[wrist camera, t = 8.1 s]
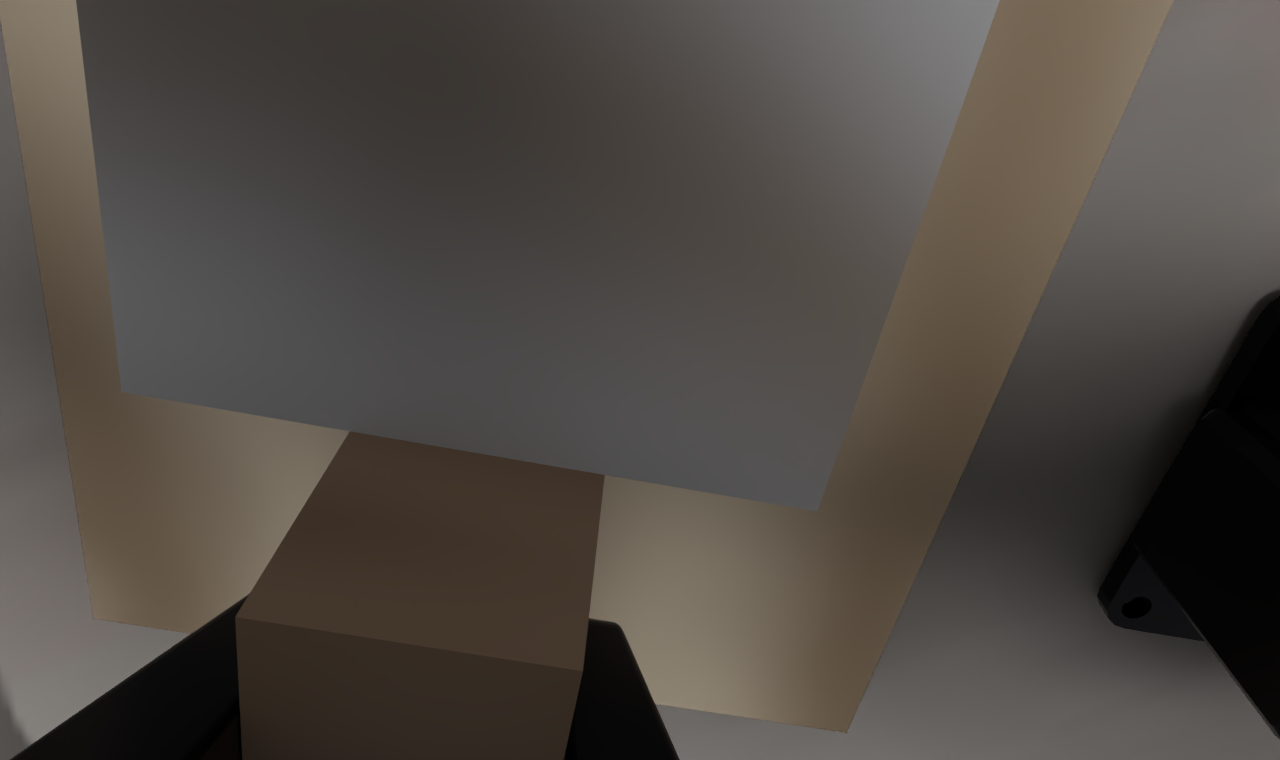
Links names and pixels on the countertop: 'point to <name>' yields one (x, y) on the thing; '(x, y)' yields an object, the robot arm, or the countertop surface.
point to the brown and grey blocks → (503, 301)
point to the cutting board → (631, 510)
